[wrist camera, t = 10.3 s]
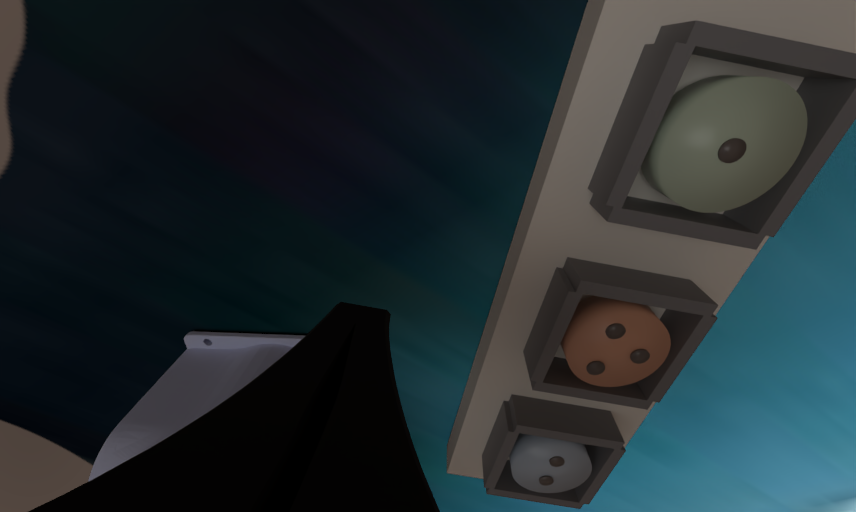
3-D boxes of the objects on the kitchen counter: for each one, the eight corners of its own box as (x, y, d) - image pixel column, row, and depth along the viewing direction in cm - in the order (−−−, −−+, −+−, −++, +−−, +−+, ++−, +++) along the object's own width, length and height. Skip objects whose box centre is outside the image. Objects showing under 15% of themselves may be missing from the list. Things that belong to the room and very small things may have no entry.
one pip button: (727, 208, 15) (756, 223, 13) (620, 187, 14) (638, 201, 13) (798, 88, 13) (842, 92, 11) (675, 63, 12) (704, 63, 11)
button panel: (582, 467, 27) (601, 529, 23) (447, 445, 26) (446, 504, 23) (862, 16, 14) (1007, 1, 10) (600, -39, 13) (655, -76, 10)
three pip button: (629, 370, 19) (644, 395, 17) (546, 355, 19) (553, 379, 17) (671, 301, 17) (691, 323, 15) (577, 284, 17) (589, 304, 15)
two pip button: (567, 473, 23) (575, 500, 22) (499, 461, 23) (502, 488, 22) (595, 428, 21) (605, 454, 20) (520, 415, 21) (525, 441, 19)
